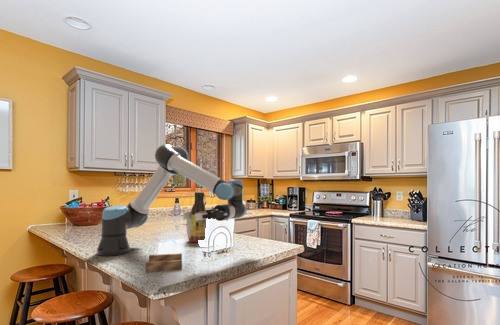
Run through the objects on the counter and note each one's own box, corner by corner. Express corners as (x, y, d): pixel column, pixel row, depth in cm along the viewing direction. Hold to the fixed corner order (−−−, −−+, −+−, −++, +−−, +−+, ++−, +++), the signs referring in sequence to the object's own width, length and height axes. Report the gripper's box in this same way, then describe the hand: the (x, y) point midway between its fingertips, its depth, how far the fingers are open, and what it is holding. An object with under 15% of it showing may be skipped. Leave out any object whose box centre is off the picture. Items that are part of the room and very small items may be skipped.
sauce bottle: (196, 241, 115) (197, 192, 117) (187, 239, 119) (187, 192, 121) (208, 239, 120) (209, 192, 121) (199, 237, 124) (200, 191, 126)
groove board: (145, 271, 114) (145, 262, 114) (149, 262, 126) (149, 255, 127) (181, 269, 117) (181, 260, 117) (181, 260, 130) (181, 253, 130)
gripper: (240, 221, 130) (207, 228, 111) (208, 218, 140) (172, 224, 121) (240, 205, 131) (208, 208, 111) (208, 203, 141) (173, 206, 121)
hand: (189, 216), depth 116 cm, fingers closed on sauce bottle, 6 cm apart
